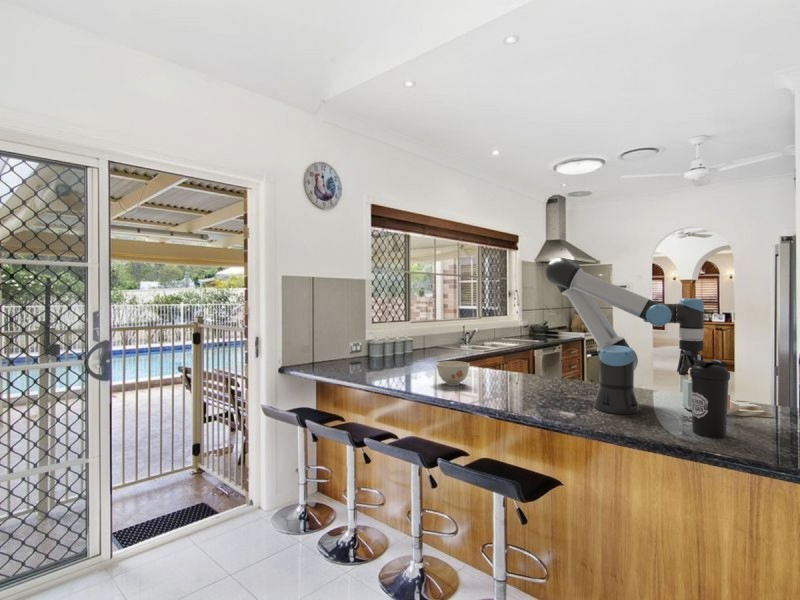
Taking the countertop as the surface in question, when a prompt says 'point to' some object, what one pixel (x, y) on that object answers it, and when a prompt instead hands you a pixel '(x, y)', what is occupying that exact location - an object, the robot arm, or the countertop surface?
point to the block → (728, 402)
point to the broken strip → (745, 404)
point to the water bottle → (709, 398)
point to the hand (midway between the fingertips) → (690, 396)
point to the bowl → (452, 371)
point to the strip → (688, 397)
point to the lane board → (749, 411)
